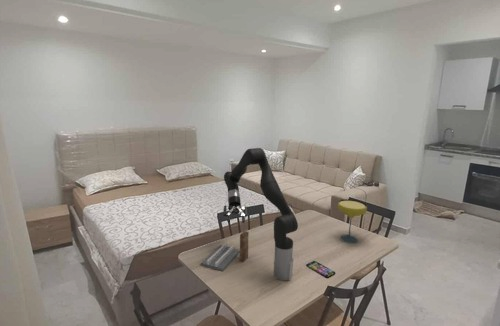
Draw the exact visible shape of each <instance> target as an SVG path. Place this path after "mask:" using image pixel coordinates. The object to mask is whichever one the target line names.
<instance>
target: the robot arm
mask: <svg viewBox="0 0 500 326" xmlns="http://www.w3.org/2000/svg"><path fill="white" fill-rule="evenodd" d="M251 165H258V166H259V168H260V171H261V176H260V180H259V181H260V182H259V184H260V189H261V191H262V193H263V196H264V197H265V198H266V200H267V201H268V202H270V203H271V204H272V205H274V207H276V208H277V209H278V211H279V212H280V214H281V215H278V216H276V217H275V218H274V221H273V239H274V257H273V276H274V277H275V279H277V280H280V281H290V280H291V278H292V276H293V270H294V269H293V268H294V258H293V254H294V253H293V250H294V241H293V239H292V238H290V237H288V236H287V235H288V234H290V233H291V234H292V233H294V232H296V231H297V230H298V227H299V223H298V220H297V218H296V216H295V214H294V213H293V211H292V209H291V207H290V206H289V204H288V202H287V200H286V199H285V197H284V194H283V192H282V191H281V188H280V186H279V184H278V181H277V180H276V178H275V176H274V173H273V171H272V168H271V166H270V163H269V160H268V158H267V155H266V152H265V151H264V149H262V148H261V147H256V148H248V149H246V150H245V151H244V153H243V154H242V156H241V158H240V160H239V162H238V163H237V164H236V166H234V167H233V168H232V169H231V171H226V172H225V173H224V175H223V180H224V183H225V185H226V187H227V201H228V204H227V205H228V206H227V205H224V206H223V216H224V217H226V222H227V223H228V224H229V223H230V222H231V214H232V215H233V214H236V215H239V216H241V223H242V224H244V223H245V222H246V217H247V216H248V209H247V208H248V207H247V206H242V201H241V196H240V195H241V194H240V188H239V185H238V184H239V183H240V180H241V178H242V177H243V175H245V174H246V172H247V169H248V166H251ZM227 210H228V213H227Z"/></svg>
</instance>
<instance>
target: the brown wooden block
mask: <svg viewBox="0 0 500 326" xmlns="http://www.w3.org/2000/svg"><path fill="white" fill-rule="evenodd" d="M239 250H240V253H239V261H241V262H246V260H247V259H248V258H249V231H242V232H241V233H239Z"/></svg>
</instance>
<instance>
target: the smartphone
mask: <svg viewBox="0 0 500 326" xmlns="http://www.w3.org/2000/svg"><path fill="white" fill-rule="evenodd" d="M305 265H306V267H307V268H309V269H310V270H312V271H314V272H315V273H316V274H318V275H320V276H322V277H324V278H325V279H330V278H331V277H333V276H334V275H336V271H334V270H332V269H331V268H329V267H327V266H326V265H323V263H322V264H321V263H320V262H318V261H317V260H312V261H311V262H308V263H307V264H305ZM329 277H330V278H329Z"/></svg>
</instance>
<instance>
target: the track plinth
mask: <svg viewBox="0 0 500 326" xmlns="http://www.w3.org/2000/svg"><path fill="white" fill-rule="evenodd" d="M238 255H240V248H236V245H235V244H233V245H231V246H230V247H229V246H228V242H225V243H224V244H223V245H221V244H220V245H218V246H217V247H216V248H215V249H214V250H213V251H212V252H211V253H210V254H209V255H207V256H206V257H205V258H204V259H203V260H202V261H201V262H200V265H201V267H206V268H210V269H213V270H217V271H220V272H224V271H225V270H226V269H227V268H228V267H229V266H230V265H231V263H232V262H233V261H234V260H235V259H236V258H237V256H238Z"/></svg>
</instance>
